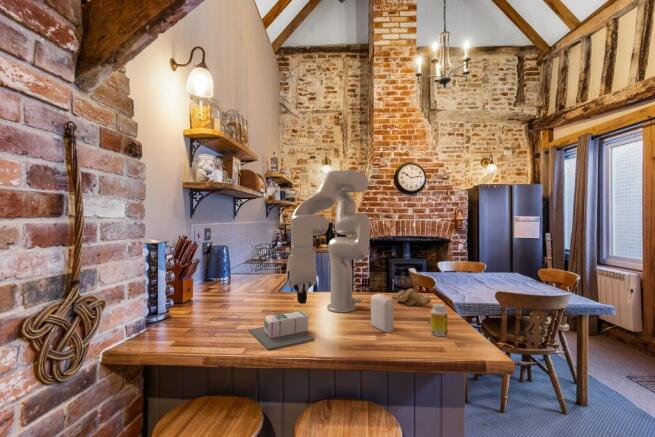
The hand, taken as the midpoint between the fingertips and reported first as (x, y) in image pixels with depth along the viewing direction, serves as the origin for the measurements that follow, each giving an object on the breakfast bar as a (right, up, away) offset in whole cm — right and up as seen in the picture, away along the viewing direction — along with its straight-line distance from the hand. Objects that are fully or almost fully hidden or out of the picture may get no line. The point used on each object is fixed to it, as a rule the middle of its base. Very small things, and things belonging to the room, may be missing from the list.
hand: (302, 302), depth 119 cm
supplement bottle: (+48, -11, -1) cm, 49 cm away
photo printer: (+29, -11, +5) cm, 31 cm away
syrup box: (+1, -7, +3) cm, 8 cm away
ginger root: (+47, -10, +39) cm, 62 cm away
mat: (-7, -11, -2) cm, 13 cm away
